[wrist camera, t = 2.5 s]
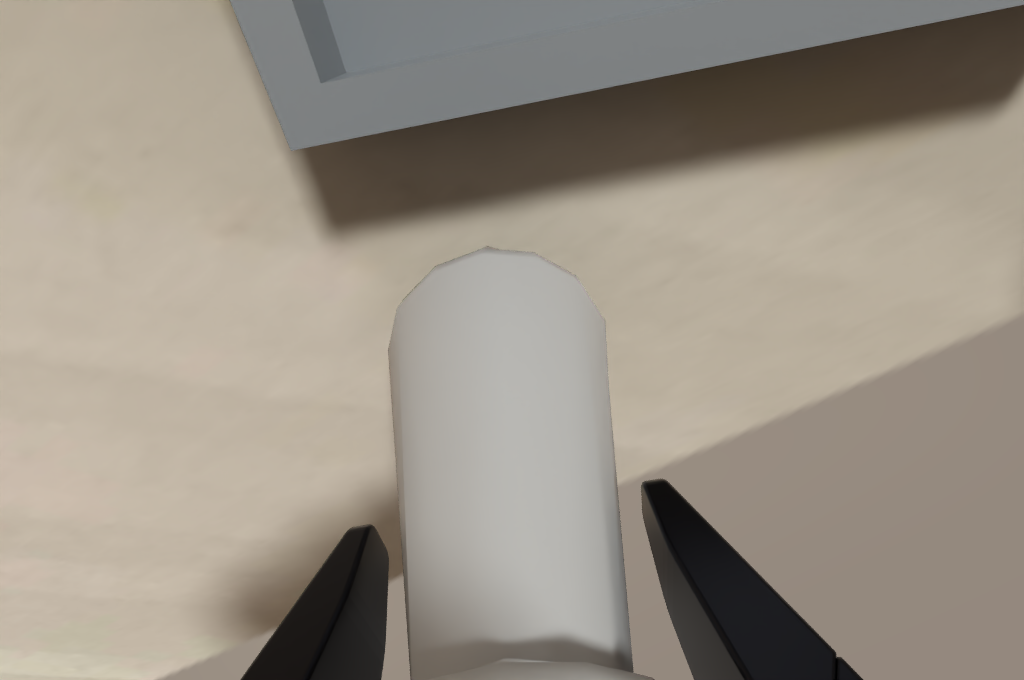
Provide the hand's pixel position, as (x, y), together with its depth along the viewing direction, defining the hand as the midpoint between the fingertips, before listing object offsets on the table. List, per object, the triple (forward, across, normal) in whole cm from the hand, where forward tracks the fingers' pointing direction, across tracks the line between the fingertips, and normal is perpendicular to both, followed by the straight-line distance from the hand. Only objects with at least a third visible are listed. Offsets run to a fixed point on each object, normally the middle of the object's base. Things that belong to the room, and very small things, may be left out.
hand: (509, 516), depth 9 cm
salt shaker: (+8, 0, 0) cm, 8 cm away
